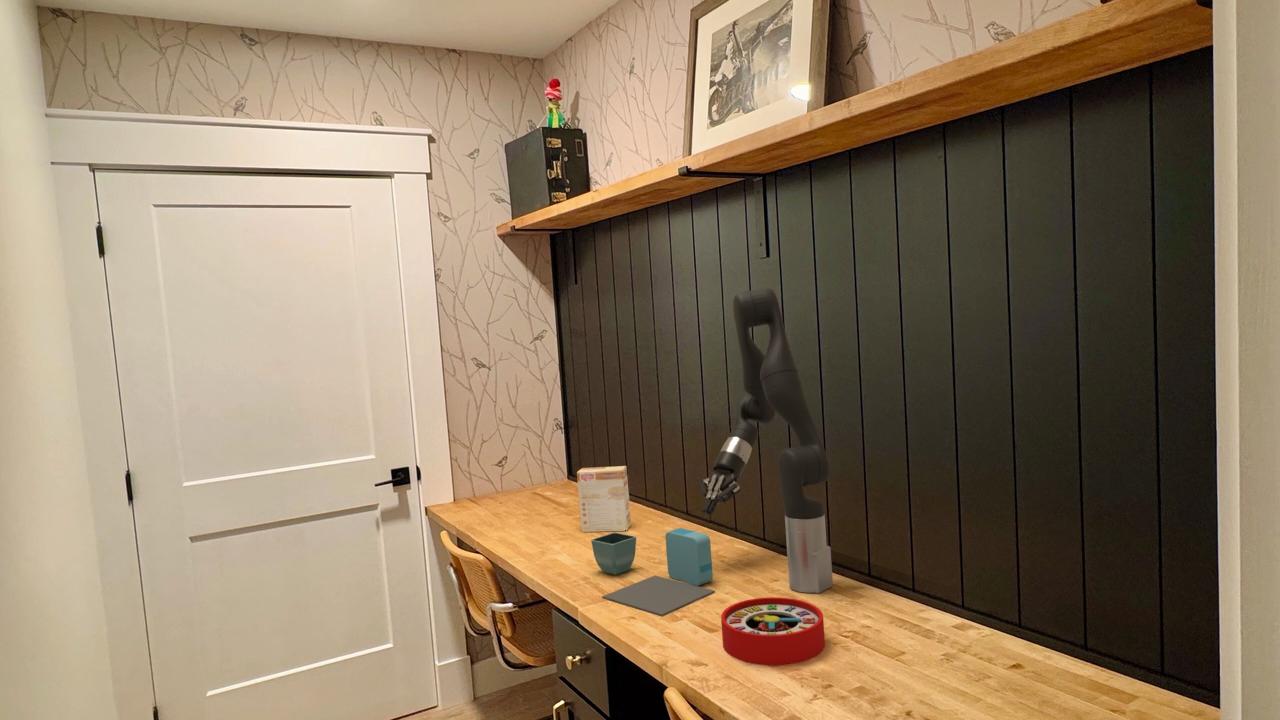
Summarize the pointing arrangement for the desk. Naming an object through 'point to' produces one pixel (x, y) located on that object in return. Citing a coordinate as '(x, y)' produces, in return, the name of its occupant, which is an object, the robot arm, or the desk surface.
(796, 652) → the toy clock
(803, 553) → the robot arm
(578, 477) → the coffeecake box
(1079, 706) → the desk surface
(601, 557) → the flower pot
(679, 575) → the data package
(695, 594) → the mat
